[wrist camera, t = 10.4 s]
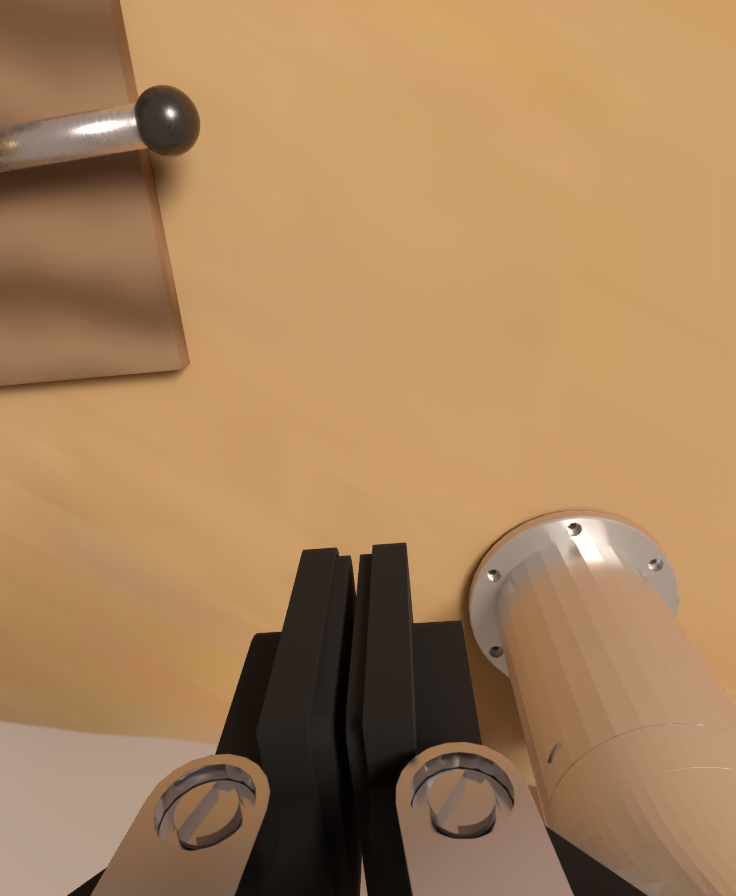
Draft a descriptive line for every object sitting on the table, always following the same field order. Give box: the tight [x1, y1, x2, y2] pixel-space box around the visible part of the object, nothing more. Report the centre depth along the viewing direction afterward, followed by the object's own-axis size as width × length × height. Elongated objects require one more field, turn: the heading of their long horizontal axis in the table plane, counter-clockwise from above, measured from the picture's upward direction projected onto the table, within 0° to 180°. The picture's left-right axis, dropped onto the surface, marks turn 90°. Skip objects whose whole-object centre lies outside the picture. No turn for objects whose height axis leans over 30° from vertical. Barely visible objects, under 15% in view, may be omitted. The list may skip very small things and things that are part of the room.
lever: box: [0, 85, 200, 172], centre depth 30 cm, size 16×6×5 cm, turn 98°
